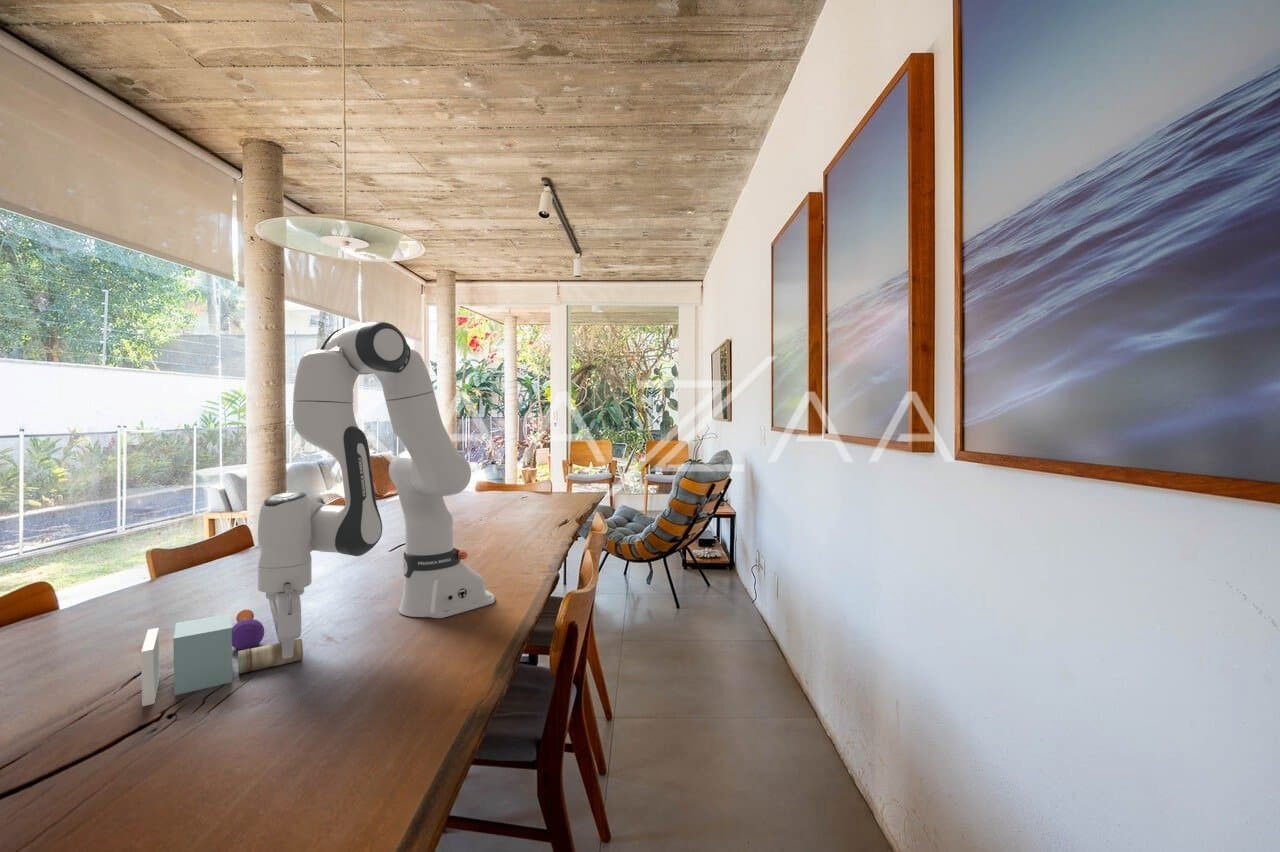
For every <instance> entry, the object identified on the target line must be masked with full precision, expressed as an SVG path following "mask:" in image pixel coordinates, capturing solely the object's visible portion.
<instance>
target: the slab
mask: <svg viewBox="0 0 1280 852" xmlns="http://www.w3.org/2000/svg"><path fill="white" fill-rule="evenodd" d="M140 653H141V659H140V661H141V703H142V704H141V705H142V706H141V707H146V706H150V705H154V704H155V701H156V697H157V691H158V687H159V683H160V678H161V675H160V674H161V673H160V672H161V671H160V670H161V669H160V668H161V665H160V627H156V628H149V629H147V632H146V635H145V637H144V641H143V645H142V647H141V652H140Z"/></svg>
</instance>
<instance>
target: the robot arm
mask: <svg viewBox="0 0 1280 852" xmlns="http://www.w3.org/2000/svg"><path fill="white" fill-rule="evenodd" d="M372 374H373V375H374V376H376V378H377V379H378V380H379V383H380V384H381V387H382V392H383V396H384V400H385V401H384V402H385V405H386V409H387V411H388V412H387V413H388V416H389V420H390V425H391V428H392V431H393V433H394V434H395V435H396V437H397V438H399V440H400V441H401V442H402V444H403V445H404V448H405V449H406V450H405V451H401V452H400V453H397V454H396V455H395V456H393V458H392V459H391V461H390V463H389V466H388V475H389V478H390V480H391V482H392V483H393V484H394V486H395V488H396V490H397V491H396V492H397V494H398V498H399V501H400V505H401V509H402V512H403V514H402V515H403V519H404V535H405V537H404V538H405V539H404V540H405V551H404V552H403V559H402V571H403V576H404V581H403V582H404V583H403V592H402V596H401V601H400V605H399V608H398V612H399V614H401V615H403V616H406V617H410V618H411V617H412V618H433V619H444V618H446V617H451V616H454V615H458V614H460V613H465V612H468V611H472V610H474V609H479V608H482V607H485V606H489V605H491V604H494V603H495V595H494V594H493V593H492V592H491V591H489V590H488V589H486V586H485V582H484V579H483V577H482V575H481V574H480V573H478V572H477V571H476V570H474V569H473V568H471V567H470V566H469V565H466V564H464V562H462V561H461V560H466V559H467V558H468V556H469V555H468V552H467V551H465V550H463V549H462V550H460V549H458V548H456V547H454V518H453V516H452V513H451V512H450V511H449V510H448V507H447V505H446V504H445V503H446V502H445V500H444V497H448V496H454V495H457V494H460V493H461V492H462V493H463V491H465V489H466V488H467V487H468V486H469V483H470V480H471V477H472V470H471V469H472V468H471V466H470V463H469V462H468V460H467V459H466V458H465V457H464V456H463V455H461V453H460V452H459V451H458V449H457V448H456V446H455V445H454V443H453V441H452V439H451V437H450V436H449V434H448V432H447V429H446V427H445V425H444V424H443V421H442V418H441V413H440V410H439V406H438V401H437V398H436V395H435V390H434V386H433V383H432V379H431V376H430V373H429V370H428V369H427V366H426V363H425V362H424V359H423V357H422V355H421V354H420V353H419V352H418V351H416V350H415V349H411V347H410V345H409V344H408V342H407V339H406V338H405V336H404V334H403V332H401V330H400V329H399V328H398V327H397V326H396V325H394V324H391V323H389V322H386V321H379V320H378V321H377V320H374V321H369V322H359V323H355V324H352V325H349V326H347V327H345V328H339V329H337V330H335V331H333V332H332V333H330V334H329V335H328V336H327V337H326V339H324V341H323V343H322V345H321V347H320V349H316V350H311V351H309V352H307V353H305V354H303V355H302V357H301V358H300V359H299V362H298V367H297V369H296V375H295V379H294V386H293V396H292V397H293V398H292V399H293V400H292V422H293V426H294V429H295V431H296V432H297V434H299V436H300V437H301V438H302V439H303V440H305V441H306V442H307V443H309V444H311V445H312V446H314V447H316V448H319V449H322V450H323V451H325V452H327V453H329V454H330V455H331V456H332V457H334V459H336V461H337V462H338V464H339V466H340V469H341V470H340V471H341V477H342V484H343V492H344V501H345V502H344V503H345V504H344V505H339V504H338V505H335V504H324V503H321V502H318V501H315V500H313V499H311V498H310V497H309V496H308V494H307V493H305V492H302V491H288V492H281V493H277V494H274V495H271V496H269V497H268V498H266V499H264V501H263V502H262V504H261V507H260V510H259V515H258V524H257V545H258V547H259V551H260V552H259V553H260V554H259V558H258V562H257V590H258V591H259V592H261V593H265V598H266V599H268V602H269V607H270V612H271V615H272V620H273V624H274V628H275V632H276V633H275V634H276V637H277V640H278V641H277V642H278V643H281V645H282V658H283V659H287V658H291V657H293V648H294V642H295V640H296V639H300V637H301V636H302V603H301V596H302V595H303V594H304V593H305V588H307V587H309V586H310V585H311V584H312V580H313V579H312V561H313V560H312V554H311V552H313V551H314V552H321V553H322V552H323V553H337V554H342V555H347V556H351V557H361V556H363V555H365V554H367V553H368V552H370V551H371V550H372V549H373V548H375V546H376V545H377V544H378V543H379V541H380V539H381V537H382V535H383V521H382V518H381V514H380V512H379V508H378V505H377V499H376V492H375V483H374V476H373V469H372V461H371V454H370V453H371V452H370V449H369V448H370V447H369V444H368V439H367V437H366V434H365V432H364V431H363V430H362V429H360V428H359V426H358V424H357V421H356V418H355V417H356V416H355V413H354V386H355V383H356V381H357V379H358V377H359V376H361V375H363V376H364V375H372Z"/></svg>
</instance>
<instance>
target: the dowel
mask: <svg viewBox="0 0 1280 852" xmlns="http://www.w3.org/2000/svg"><path fill="white" fill-rule="evenodd" d="M237 656H238V657H237V663H238V664H237V665H238V668H237V669H238V674H239V675H240V674H244V673H247V674H248V673H250V672H255V671H258V670H262V669H267V668H271V667H277V666H281V665H286V664H289V663H294V662H299V661H303V659H304V647H303V639H302V638H297V639H295V642H294V648H293V657H291V658H287V659H283V658H282V645H281V643H280V642H277V643H273V644H268V645H262V646H261V645H260V646H255V647H253V648H250V649H246V650H238V652H237Z"/></svg>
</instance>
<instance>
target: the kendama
mask: <svg viewBox="0 0 1280 852" xmlns="http://www.w3.org/2000/svg"><path fill="white" fill-rule="evenodd" d="M254 617H255V615H254V612H253V611H252V610H251V609H243V610H241V611H239V612H238V613H237V614H236V617H235V618H236V619H235V620H236V623H235V624H234V625H233V626H232V648H234V649H236V650H238V651H241V650H246V649H250V648H256V647H258V645H259V644H260V643H261V642H262V640H263V638H264V636H265V627H264V625H263V623H262V622H261V621H259V620H257V619H254Z"/></svg>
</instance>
